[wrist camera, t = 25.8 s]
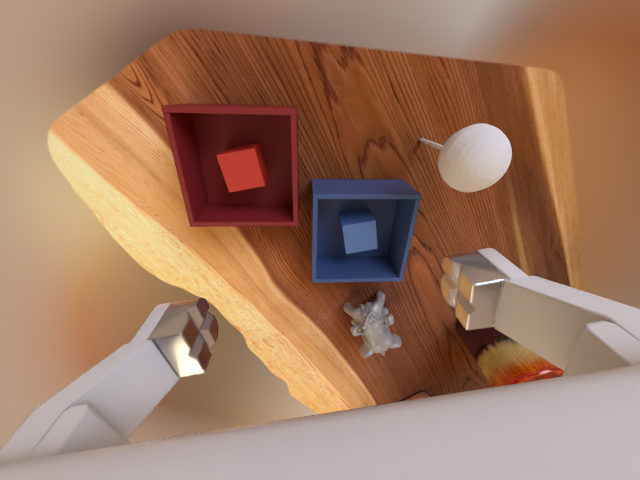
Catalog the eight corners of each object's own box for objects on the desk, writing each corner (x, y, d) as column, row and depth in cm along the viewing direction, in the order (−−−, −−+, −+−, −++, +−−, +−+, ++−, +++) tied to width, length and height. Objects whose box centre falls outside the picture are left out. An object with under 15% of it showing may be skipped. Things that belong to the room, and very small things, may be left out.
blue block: (338, 212, 39) (342, 226, 35) (368, 207, 39) (375, 220, 35) (342, 238, 41) (346, 254, 37) (370, 233, 41) (377, 248, 37)
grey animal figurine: (374, 280, 46) (386, 312, 39) (407, 317, 51) (423, 350, 44) (332, 307, 48) (337, 341, 42) (368, 339, 53) (378, 374, 47)
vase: (479, 345, 56) (561, 460, 38) (444, 328, 53) (515, 446, 35) (520, 312, 52) (633, 425, 34) (485, 292, 49) (589, 405, 31)
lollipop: (448, 149, 36) (532, 181, 23) (407, 170, 37) (466, 212, 24) (436, 104, 33) (524, 111, 20) (392, 129, 34) (449, 150, 21)
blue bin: (311, 178, 37) (312, 194, 31) (403, 179, 37) (421, 194, 32) (310, 258, 43) (311, 283, 37) (389, 257, 44) (402, 281, 38)
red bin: (186, 103, 31) (160, 105, 26) (297, 106, 32) (296, 109, 26) (207, 206, 38) (190, 226, 32) (298, 206, 38) (298, 226, 33)
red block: (225, 148, 33) (215, 155, 30) (260, 141, 33) (254, 147, 29) (237, 181, 36) (229, 192, 32) (269, 176, 36) (265, 186, 32)
